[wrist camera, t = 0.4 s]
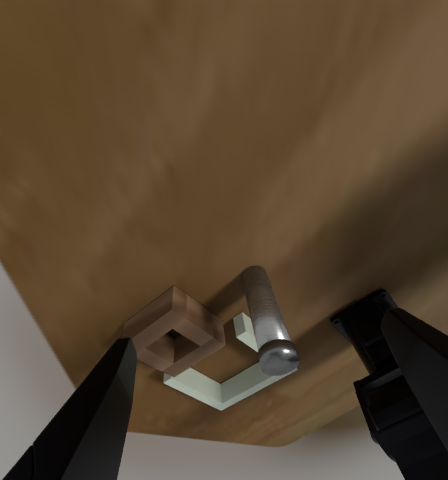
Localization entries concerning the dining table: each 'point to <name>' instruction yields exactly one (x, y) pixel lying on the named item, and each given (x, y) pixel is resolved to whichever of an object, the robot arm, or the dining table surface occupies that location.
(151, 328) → the walnut block
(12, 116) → the dining table surface
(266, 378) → the open c-shaped clip
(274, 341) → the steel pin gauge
